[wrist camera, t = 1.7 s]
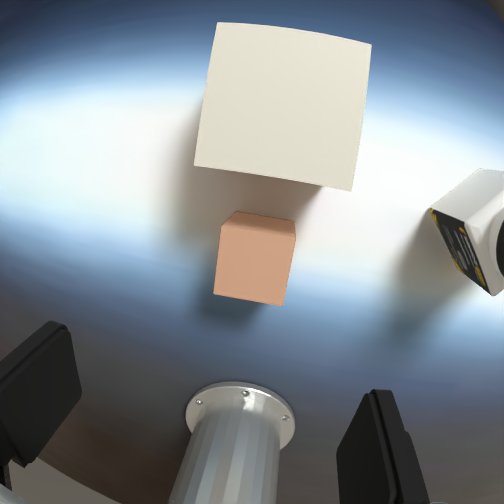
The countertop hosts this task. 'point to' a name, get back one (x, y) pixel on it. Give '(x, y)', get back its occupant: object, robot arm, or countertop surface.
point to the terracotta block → (254, 258)
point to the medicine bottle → (475, 227)
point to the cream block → (284, 104)
